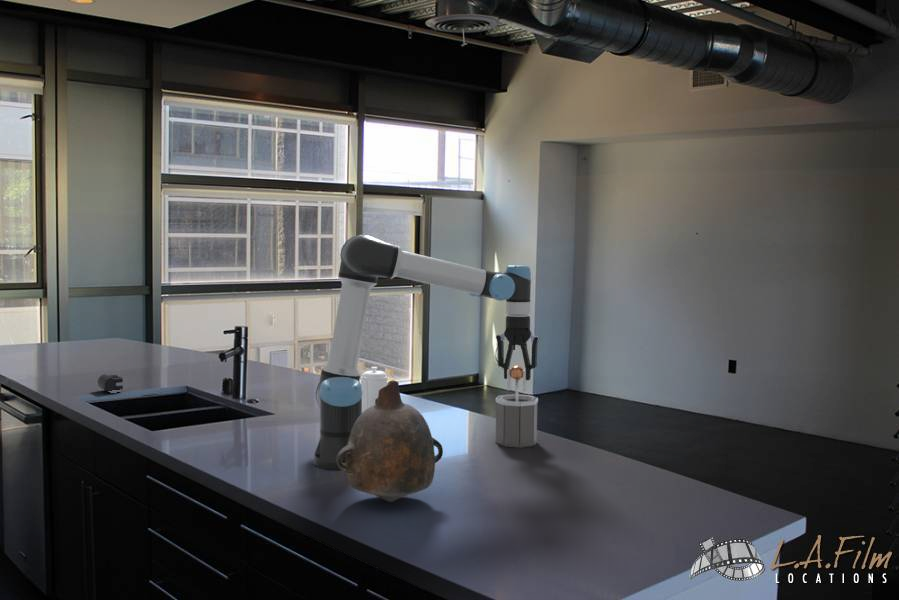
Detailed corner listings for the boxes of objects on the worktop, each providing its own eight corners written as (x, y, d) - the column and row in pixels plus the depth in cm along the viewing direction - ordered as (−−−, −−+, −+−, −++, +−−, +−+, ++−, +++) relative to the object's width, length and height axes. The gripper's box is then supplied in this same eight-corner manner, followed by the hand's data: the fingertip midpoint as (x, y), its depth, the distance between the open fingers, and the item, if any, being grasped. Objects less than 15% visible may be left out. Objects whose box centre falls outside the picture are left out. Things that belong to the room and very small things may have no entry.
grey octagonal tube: (531, 448, 250) (532, 403, 249) (491, 445, 254) (492, 400, 253) (542, 436, 265) (543, 393, 264) (504, 433, 269) (505, 391, 268)
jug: (392, 481, 215) (392, 367, 213) (456, 498, 202) (457, 377, 199) (321, 504, 196) (321, 379, 194) (387, 524, 183) (387, 391, 181)
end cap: (97, 391, 337) (97, 374, 336) (115, 389, 341) (115, 373, 341) (105, 395, 329) (104, 378, 328) (123, 393, 333) (122, 376, 333)
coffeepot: (347, 427, 276) (347, 372, 274) (369, 412, 300) (369, 361, 299) (378, 429, 274) (378, 373, 272) (398, 413, 298) (398, 362, 297)
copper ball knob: (526, 437, 252) (527, 368, 251) (499, 434, 255) (500, 367, 253) (532, 431, 260) (533, 364, 259) (506, 428, 263) (507, 363, 261)
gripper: (548, 315, 256) (547, 389, 257) (493, 313, 261) (493, 386, 263) (543, 317, 249) (542, 393, 250) (487, 315, 254) (486, 390, 256)
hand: (517, 389), depth 257 cm, fingers closed on copper ball knob, 4 cm apart
